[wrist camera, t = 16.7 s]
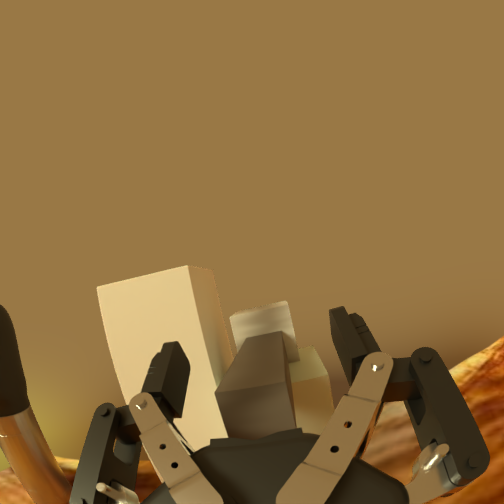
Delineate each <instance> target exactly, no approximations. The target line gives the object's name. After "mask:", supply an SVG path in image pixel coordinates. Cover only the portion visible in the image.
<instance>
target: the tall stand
mask: <svg viewBox="0 0 504 504" xmlns="http://www.w3.org/2000/svg"><path fill="white" fill-rule="evenodd" d="M97 293H98V299H99V305H100V310H101V315H102V320H103V324H104V328H105V333H106V337H107V341H108V345H109V349H110V353H111V356H112V360H113V363H114V367H115V371H116V374H117V377H118V381H119V384H120V386H121V390H122V393H123V396H124V398H125V401H126V404H127V405H129V402H130V400H131V399H132V398H133V397H134V396H135V395H137V394H139V393H140V392H141V389H142V386H143V383H144V380H145V378H146V375H147V374H148V373H147V372H148V369H149V368H150V367H149V366H150V363H151V360H152V359H153V357H154V356H155V355H156V354H157V353H158V352H161V349H162V346H163V344H164V343H165V342H173V341H178V342H179V343H180V345H181V347H182V349H183V351H184V353H185V354H186V356H187V358H188V360H189V362H190V368H191V370H190V376H189V381H188V386H187V392H186V397H185V403H184V408H183V414H182V418H174V421H173V422H174V423H175V424H176V426H177V427H178V429H179V430H180V431H181V433H182V434H183V436H184V437H185V438H186V440H187V441H188V442H189V444H190V445H191V446H192V448H193V449H194V450H195V451H197V450H199V449H200V448H202V447H205V446H208V445H210V439H216V438H228V435H227V432H226V429H225V426H224V423H223V420H222V417H221V414H220V410H219V407H218V404H217V401H216V397H215V394H214V392H215V391H216V389H217V387H218V386H219V384H220V382H221V380H222V379H223V377H224V375H225V374H226V372H227V370H228V369H229V367H230V365H231V363H232V362H233V360H234V359H233V355H232V351H231V348H230V343H229V339H228V335H227V331H226V326H225V323H224V318H223V314H222V310H221V305H220V301H219V296H218V292H217V287H216V282H215V278H214V273H213V270H210V269H205V268H200V267H195V266H189V265H186V266H182V267H177V268H173V269H169V270H165V271H161V272H157V273H153V274H149V275H144V276H140V277H136V278H132V279H128V280H123V281H119V282H115V283H111V284H107V285H103V286H99V287H97ZM142 444H143V443H142ZM143 446H144V445H143ZM144 448H145V447H144ZM145 451H146V449H145ZM146 453H147V455H148V457H149V459H150V461H151V463H152V465H153V467H154V469H155V471H156V473H157V475H158V477H159V479H160V481H161V482H162V483H163V482H164V480H163V478H162V477H161V475H160V473H159V472H158V470H157V468H156V467H155V465H154V463H153V461H152V460H151V458H150V456H149V454H148V452H147V451H146Z"/></svg>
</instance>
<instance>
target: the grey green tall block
mask: <svg viewBox="0 0 504 504" xmlns="http://www.w3.org/2000/svg"><path fill="white" fill-rule="evenodd" d="M298 352H299V357H300V361H297V362H292V363H289V369H290V377H291V384H292V392H293V400H294V408H295V416H296V425H297V428H300V427H302V431H303V433H313V434H318V435H321V434H322V432H323V430H324V429H325V427H326V425H327V423H328V422H329V420H330V418H331V416H332V415H333V413H334V405H333V399H332V393H331V387H330V381H329V375H328V373H327V371H326V369H325V367H324V365H323V363H322V361H321V360H320V358H319V356H318V354H317V352H316V350H315V348H314V346H313V345H312V346H308V347H303V348H299V349H298ZM216 401H217V400H216ZM220 414H221V413H220Z"/></svg>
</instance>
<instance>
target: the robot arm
mask: <svg viewBox="0 0 504 504" xmlns="http://www.w3.org/2000/svg"><path fill="white" fill-rule="evenodd" d="M329 316H330V325H331V335H332V339H333V343H334V345H335V348H336V350H337V353H338V356H339V358H340V361H341V364H342V367H343V369H344V372H345V375H346V377H347V380H348V383H349V386H350V390H349V392H348V394H347V395H346V394H345V395H343V397H342V398H341V400H340V402H339V404H338V406H337V408H336V409H335V411H334V413H333V415H332V416H331V418H330V420H329V422H328V423H327V425H326V427H325V429H324V430H323V432H322V434H321V435H318V434H313V433H303V431H302V427H300V428H295V429H290V430H285V431H279V432H276V433H273V434H271V435H268V436H265V437H262V438H260V439H256V440H249V439H240V438H232V437H231V438H216V439H210V445H208V446H205V447H202V448H200V449H199V450H197V451H195V450H194V449H193V448H192V446H191V445H190V444H189V442H188V441H187V440H186V438H185V437H184V436H183V434H182V433H181V431H180V430H179V429H178V427H177V426H176V424H175V423H174V422H173V421H174V418H182V414H183V408H184V403H185V397H186V392H187V386H188V381H189V376H190V370H191V368H190V362H189V360H188V358H187V356H186V354H185V353H184V351H183V349H182V347H181V345H180V343H179V342H178V341H173V342H165V343H164V344H163V346H162V349H161V352H158V353H157V354H156V355H155V356H154V357H153V359H152V360H151V363H150V366H149V367H150V368H149V369H148V372H147V373H148V374H147V375H146V378H145V380H144V383H143V386H142V389H141V392H140V393H139V394H137V395H135V396H134V397H133V398H132V399H131V400H130V402H129V405H126V406H122V407H119V408H116V407H115V406H114V405H113V404H111V403H104V404H102V405H100V406H99V407H98V408H97V409H96V411H95V413H94V416H93V419H92V422H91V425H90V428H89V431H88V434H87V437H86V440H85V444H84V447H83V450H82V454H81V457H80V460H79V464H78V468H77V471H76V475H75V479H74V483H73V487H72V486H71V484H70V483H69V481H68V480H67V478H66V476H65V475H64V473H63V471H62V470H61V468H60V466H59V464H58V463H57V461H56V459H55V457H54V455H53V454H52V452H51V450H50V448H49V446H48V444H47V442H46V440H45V438H44V436H43V433H42V431H41V429H40V427H39V425H38V422H37V420H36V418H35V415H34V413H33V410H32V408H31V405H30V402H29V399H28V396H27V386H26V380H25V376H24V372H23V368H22V364H21V360H20V355H19V350H18V344H17V340H16V335H15V330H14V327H13V324H12V321H11V318H10V316H9V314H8V313H7V311H6V310H5V308H4V307H3V306H2V305H0V447H1V449H2V451H3V453H4V454H5V457H6V458H7V460H8V462H9V464H10V465H11V467H12V469H13V471H14V472H15V474H16V475H17V477H18V479H19V480H20V482H21V483H22V485H23V486H24V488H25V489H26V491H27V492H28V494H29V495H30V497H31V498H32V499H33V501H34V502H35V503H36V504H426V503H428V502H430V501H433V500H435V499H437V498H439V497H448V496H450V495H452V494H454V493H456V492H458V491H460V490H461V489H463V488H464V487H466V486H467V485H469V484H470V483H472V482H473V481H474V480H475V479H476V478H478V477H479V476H480V475H481V474H483V473H484V472H485V470H486V469H487V467H488V465H489V461H490V454H489V451H488V449H487V447H486V444H485V442H484V440H483V437H482V435H481V433H480V431H479V428H478V426H477V424H476V422H475V420H474V418H473V416H472V414H471V412H470V410H469V408H468V406H467V404H466V402H465V400H464V398H463V396H462V394H461V392H460V391H459V389H458V387H457V385H456V383H455V382H454V380H453V378H452V376H451V374H450V373H449V371H448V370H447V368H446V366H445V364H444V362H443V361H442V359H441V357H440V356H439V354H438V353H437V352H436V351H435V350H434V349H432V348H428V347H422V348H419V349H417V350H415V351H414V352H413V354H412V355H411V357H408V358H398V359H397V358H391V356H390V355H388V354H386V353H384V352H381V350H380V348H379V346H378V344H377V343H376V341H375V339H374V337H373V336H372V334H371V332H370V331H369V328H368V327H367V326H366V323H365V322H364V320H363V318H362V317H361V316H359V315H358V314H356V313H353V314H349V315H348V313H347V312H346V310H345V308H344V307H343V306H341V307H337V308H334V309H330V310H329ZM394 401H404V404H405V406H406V409H407V412H408V414H409V417H410V419H411V422H412V425H413V428H414V430H415V433H416V436H417V439H418V442H419V445H420V448H421V451H422V452H421V454H420V455H419V456H418V458H417V459H416V460H415V462H414V464H413V468H412V470H413V477H412V480H411V482H410V483H409V484H407V485H405V486H404V485H403V484H402V483H401V482H400V481H398V480H397V479H395V478H393V477H391V476H389V475H387V474H386V473H384V472H382V471H380V470H378V469H377V468H375V467H373V466H372V465H370V464H368V463H366V462H365V461H363V460H361V458H362V456H363V454H364V452H365V450H366V448H367V446H368V444H369V441H370V439H371V436H372V433H373V431H374V429H375V426H376V424H377V422H378V419H379V417H380V414H381V412H382V409H383V407H384V404H385V402H394ZM115 439H116V440H117V441H116V445H115V449H114V453H113V446H114V442H115ZM142 443H143V445H144V447H145V449H146V451H147V452H148V454H149V456H150V458H151V460H152V461H153V463H154V465H155V467H156V468H157V470H158V472H159V473H160V475H161V477H162V478H163V480H164V482H163V483H162V484H161V485H160V486H159V487H158V488H157V489H156V490H155V491H154V492H153V493H151V494H150V495H149V496H148V497H147V498H146V499H145V500H144V501H143V502H141V503H140V502H139V500H138V496H137V495H136V493H135V492H134V490H135V483H136V476H137V470H138V464H139V457H140V452H141V446H142Z"/></svg>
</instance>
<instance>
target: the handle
mask: <svg viewBox="0 0 504 504" xmlns="http://www.w3.org/2000/svg"><path fill="white" fill-rule="evenodd" d="M230 322H231V326H232V331H233V335H234V339H235V343H236V347H237V351H238V353H237V355H236V357H235V358H234V360H233V362H232V363H231V365H230V367H229V369H228V370H227V372H226V374H225V375H224V377H223V379H222V380H221V382H220V384H219V386H218V387H217V389H216V391H215V392H214V394H215V397H216V400H217V404H218V407H219V410H220V413H221V417H222V420H223V423H224V426H225V429H226V432H227V435H228V438H231V437H232V438H240V439H249V440H256V439H260V438H262V437H265V436H268V435H271V434H273V433H276V432H279V431H285V430H290V429H295V428H297V425H296V416H295V408H294V400H293V392H292V384H291V377H290V369H289V363H292V362H297V361H300V357H299V352H298V348H297V343H296V338H295V334H294V329H293V325H292V320H291V315H290V311H289V306H288V303H287V301H282V302H277V303H274V304H269V305H264V306H260V307H256V308H251V309H246V310H241V311H237V312H236V313H235V314H233V315H232V316H231V317H230Z"/></svg>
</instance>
